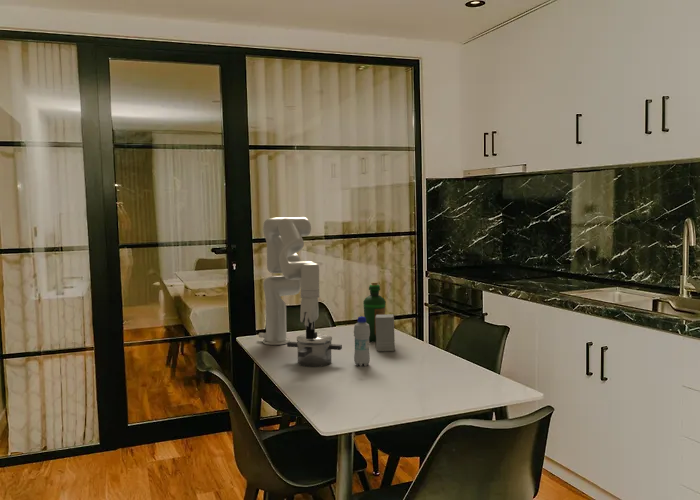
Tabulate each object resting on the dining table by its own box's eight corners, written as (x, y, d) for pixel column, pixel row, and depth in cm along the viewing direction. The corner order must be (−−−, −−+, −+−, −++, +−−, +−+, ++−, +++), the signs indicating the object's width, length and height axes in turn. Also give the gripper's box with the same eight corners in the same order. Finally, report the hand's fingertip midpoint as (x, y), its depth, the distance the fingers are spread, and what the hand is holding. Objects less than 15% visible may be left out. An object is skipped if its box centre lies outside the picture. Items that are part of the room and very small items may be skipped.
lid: (291, 342, 247) (291, 335, 246) (303, 335, 261) (303, 328, 261) (325, 344, 243) (325, 337, 243) (336, 336, 257) (336, 329, 257)
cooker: (273, 370, 240) (273, 347, 239) (295, 355, 263) (295, 334, 263) (329, 374, 234) (329, 351, 233) (346, 359, 257) (346, 337, 257)
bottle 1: (368, 367, 244) (368, 318, 243) (352, 366, 246) (352, 317, 244) (371, 363, 251) (371, 315, 249) (355, 362, 252) (355, 314, 251)
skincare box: (394, 348, 276) (394, 313, 275) (394, 352, 269) (394, 316, 268) (376, 348, 277) (376, 313, 276) (375, 351, 270) (375, 316, 269)
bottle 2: (386, 342, 288) (386, 283, 285) (363, 342, 288) (363, 283, 286) (385, 337, 298) (385, 280, 296) (363, 337, 298) (363, 280, 296)
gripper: (307, 290, 254) (307, 334, 255) (294, 296, 239) (295, 342, 241) (324, 291, 252) (324, 335, 253) (312, 296, 237) (313, 343, 239)
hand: (310, 338), depth 247 cm, fingers closed
